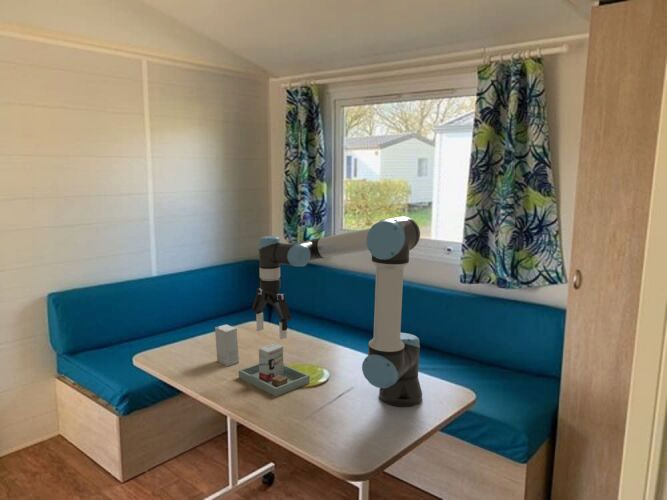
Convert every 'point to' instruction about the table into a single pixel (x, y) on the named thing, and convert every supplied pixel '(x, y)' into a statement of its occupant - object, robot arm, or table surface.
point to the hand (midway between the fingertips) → (271, 334)
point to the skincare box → (227, 345)
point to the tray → (252, 377)
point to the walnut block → (279, 381)
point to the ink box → (270, 362)
